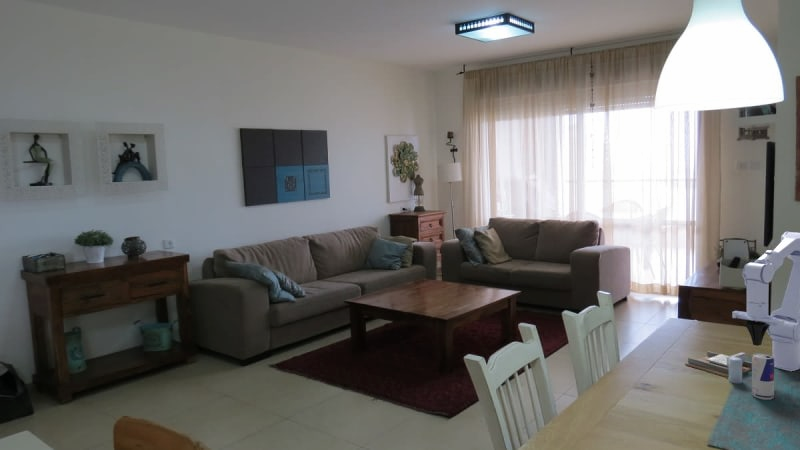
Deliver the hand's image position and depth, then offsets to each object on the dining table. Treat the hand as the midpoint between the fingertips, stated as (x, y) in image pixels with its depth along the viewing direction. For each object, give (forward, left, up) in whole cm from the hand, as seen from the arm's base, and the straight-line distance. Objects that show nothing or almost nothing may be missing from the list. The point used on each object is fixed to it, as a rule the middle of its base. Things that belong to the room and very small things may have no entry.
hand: (757, 344), depth 179 cm
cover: (0, -10, -8) cm, 13 cm away
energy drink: (+13, +9, -11) cm, 19 cm away
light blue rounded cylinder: (+8, -2, -10) cm, 13 cm away
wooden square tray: (0, -12, -10) cm, 16 cm away
